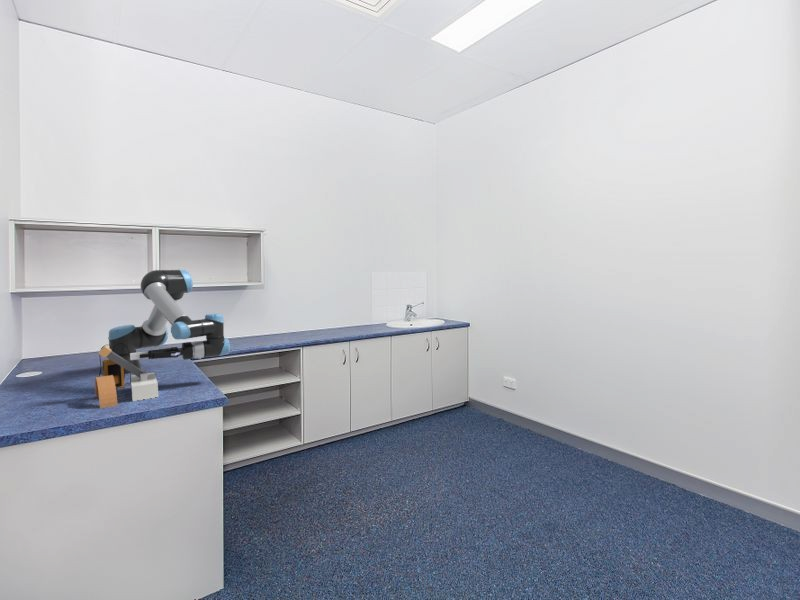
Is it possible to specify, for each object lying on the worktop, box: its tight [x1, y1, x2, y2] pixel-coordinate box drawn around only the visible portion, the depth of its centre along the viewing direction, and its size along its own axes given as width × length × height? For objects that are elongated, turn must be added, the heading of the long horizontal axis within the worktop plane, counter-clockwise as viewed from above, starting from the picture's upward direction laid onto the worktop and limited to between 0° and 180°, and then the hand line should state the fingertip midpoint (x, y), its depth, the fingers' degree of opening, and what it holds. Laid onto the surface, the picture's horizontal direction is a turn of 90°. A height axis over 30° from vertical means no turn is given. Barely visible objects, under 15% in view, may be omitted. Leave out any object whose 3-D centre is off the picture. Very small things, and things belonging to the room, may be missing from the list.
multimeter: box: [98, 343, 132, 389], centre depth 192 cm, size 15×10×20 cm
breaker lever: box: [97, 345, 145, 378], centre depth 178 cm, size 5×3×20 cm
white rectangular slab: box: [130, 369, 159, 402], centre depth 182 cm, size 22×9×9 cm, turn 33°
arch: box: [94, 375, 118, 409], centre depth 172 cm, size 6×20×10 cm, turn 39°
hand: (130, 356), depth 179 cm, fingers closed
